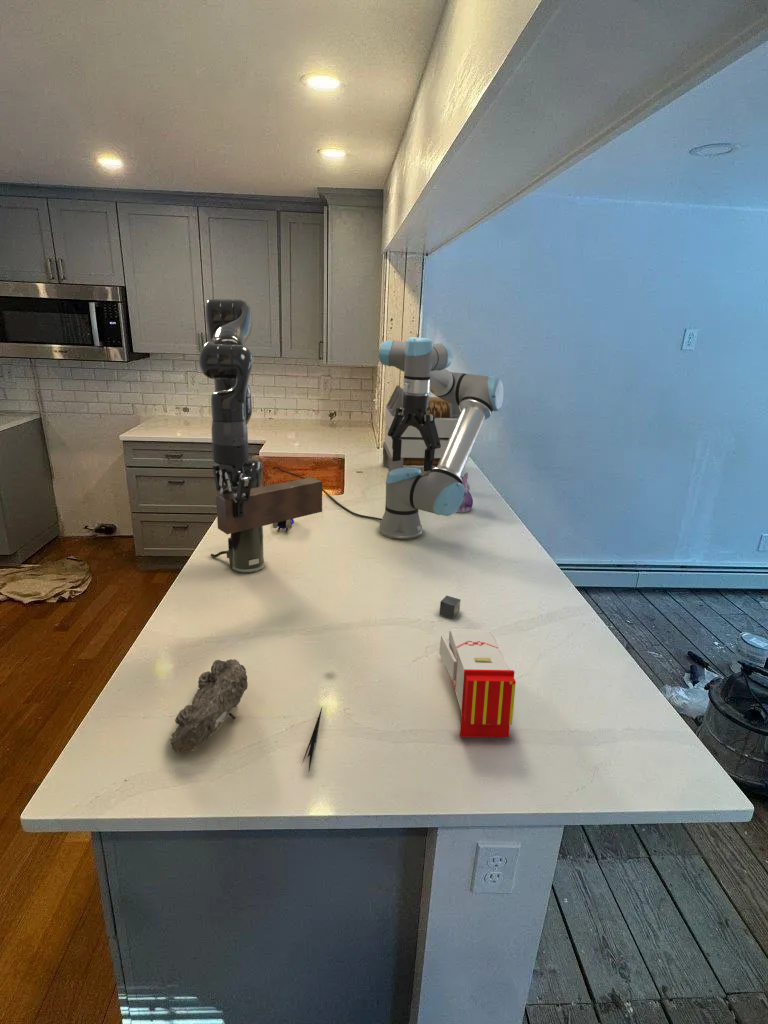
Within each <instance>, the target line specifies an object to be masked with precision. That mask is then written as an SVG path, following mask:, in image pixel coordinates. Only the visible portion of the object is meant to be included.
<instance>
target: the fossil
mask: <svg viewBox="0 0 768 1024" xmlns="http://www.w3.org/2000/svg"><path fill="white" fill-rule="evenodd" d="M197 683H198V684H197V687H198V690H197V691H196V693H195V694H194V697H193V698H192V701H191V704H187V705H185V706H184V707H183V708H182V709H181V710H179V712H178V713H177V715H176V717H175V719H174V721H175V723H176V725H177V726H176V728H175V730H174V731H173V732H172V733H171V735H170V736H171V738H170V747H171V750H172V751H176V752H178V753H186V752H190V751H193V752H195V751H197V750H198V749H199V748H200V747H201V746H202V745H203V744H204V743H205V742H207V741H208V740H209V739H210V737H211V736H212V735H213V734H215V733H216V731H218V730H219V729H220V728H221V726H222V725H223V723H224V721H225V720H226V719H227V718H228V717H230V718H232V720H235V719H236V716H235V715H234V714H233V713H232V710H233V709H235V708H237V706H238V705H239V704H240V702H241V700H242V698H243V696H244V693H245V691H246V690H247V689H248V686H249V685H248V675H247V669H246V668H245V666H244V665H243V664H241V663H240V661H238V660H237V659H236V658H234V659H232V658H230V659H226V660H221V659H216V660H214V661H213V662H212V665H211V667H210V671H208V670H207V671H205V672H201V674H200V675H199V676H198V681H197Z"/></svg>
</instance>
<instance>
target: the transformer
mask: <svg viewBox="0 0 768 1024" xmlns="http://www.w3.org/2000/svg"><path fill="white" fill-rule="evenodd" d="M404 394H405V393H404V392H403V388H402V387H401V385H399V384H397V385H396V386H395V388H394V389H393V392H392V393H391V395H390V398H389V400H388V402H387V403H386V405H385V413H384V414H385V416H384V424H385V425H384V426H385V427H384V440H383V441H382V442H383V443H382V463H381V464H382V465H383V467H386V468H388V472H390V471H391V470H394V469H398V468H404V466H406V467H408V466H409V467H412V466H413V467H416V466H417V467H424V456H425V449H427V447H426V445H425V442H424V440H423V438H422V436H421V434H420V431H419V430H418V429H417V428H416V427H413V426H408V428H407V429H406V430H405V432H404V433H403V434H402V436H401V437H400V439H401V440H402V443H401V460H400V461H392V459H393V449H392V438H391V437H390V436H388V431H389V429H390V427H391V424H392V422H393V419H394V417H395V414H396V408H400V407H403V406H402V402H403V395H404ZM460 413H461V409H460V407H459V406H457V405H453V404H451V403H448V402H446V401H444V400H442V399H441V398H439V397H437V396H429V404H428V408H427V409H426V414H434V415H435V425H436V429H437V433H438V437H439V440H440V444H441V447H440V448H437V449H435V454H434V460H433V462H432V467H435V468H436V467H437V466H438V464H439V461H440V459H441V457H442V454H443V452H444V450H445V447H446V445H447V443H448V440H449V438H450V436H451V433H452V431H453V429H454V426H455V424H456V422H457V420H458V417H459V415H460ZM403 418H404V417H403ZM402 420H403V419H402ZM422 425H423V424H422Z"/></svg>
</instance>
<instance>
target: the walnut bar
mask: <svg viewBox="0 0 768 1024" xmlns="http://www.w3.org/2000/svg"><path fill="white" fill-rule="evenodd" d="M304 478H305V479H302V478H300V479H296V480H295V479H294V480H290V481H285V482H278V483H274V484H269V485H263V487H257V488H252V489H251V490H250V498H249V501H244V517H242V518H237V519H236V518H234V511H233V498H232V493H225V494H220V493H219V494H216V495H215V504H216V521H217V529H218V530H219V531H221V532H223V533H224V534H226V535H231V533H235V532H239V531H244V530H248V529H252V528H256V527H260V526H263V527H264V526H269V525H273V523H277V522H281V521H286V520H290V519H293V520H295V519H297V518H302V517H307V516H310V515H311V516H312V515H314V514H319V513H322V512H323V491H322V489H323V481H322V480H320V479H318V478H315V477H313V476H311V477H304ZM237 492H238V491H237ZM237 492H236V495H237ZM244 494H245V493H244Z"/></svg>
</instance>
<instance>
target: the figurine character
mask: <svg viewBox="0 0 768 1024" xmlns="http://www.w3.org/2000/svg"><path fill="white" fill-rule="evenodd" d="M294 523H295V519H290V520H286V521H281V522H277V523H273V524H272V528H273V529H277V530H276V532H277V533H280V531H281V530H285V532H284V533H288V531H289V529H291V528H292V525H293V524H294Z"/></svg>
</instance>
